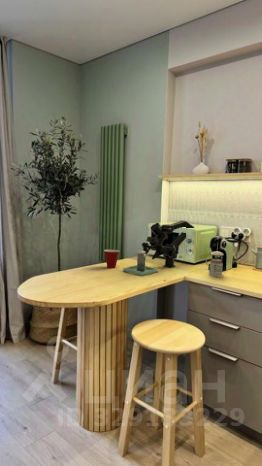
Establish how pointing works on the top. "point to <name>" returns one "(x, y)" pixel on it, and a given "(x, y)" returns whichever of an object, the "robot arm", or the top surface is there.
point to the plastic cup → (111, 258)
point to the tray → (134, 271)
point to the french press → (215, 262)
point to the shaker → (141, 260)
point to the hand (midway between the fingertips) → (147, 257)
